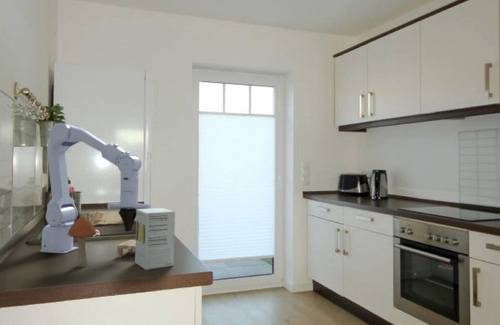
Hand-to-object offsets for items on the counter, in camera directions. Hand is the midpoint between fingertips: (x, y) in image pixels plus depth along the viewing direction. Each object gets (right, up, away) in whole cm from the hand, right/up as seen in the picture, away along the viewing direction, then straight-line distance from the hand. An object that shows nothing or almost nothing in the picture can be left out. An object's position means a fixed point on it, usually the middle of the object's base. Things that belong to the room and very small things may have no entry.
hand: (128, 230), depth 129 cm
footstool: (-2, -6, 0) cm, 6 cm away
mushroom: (-9, -8, -16) cm, 20 cm away
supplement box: (+12, -9, -12) cm, 18 cm away
